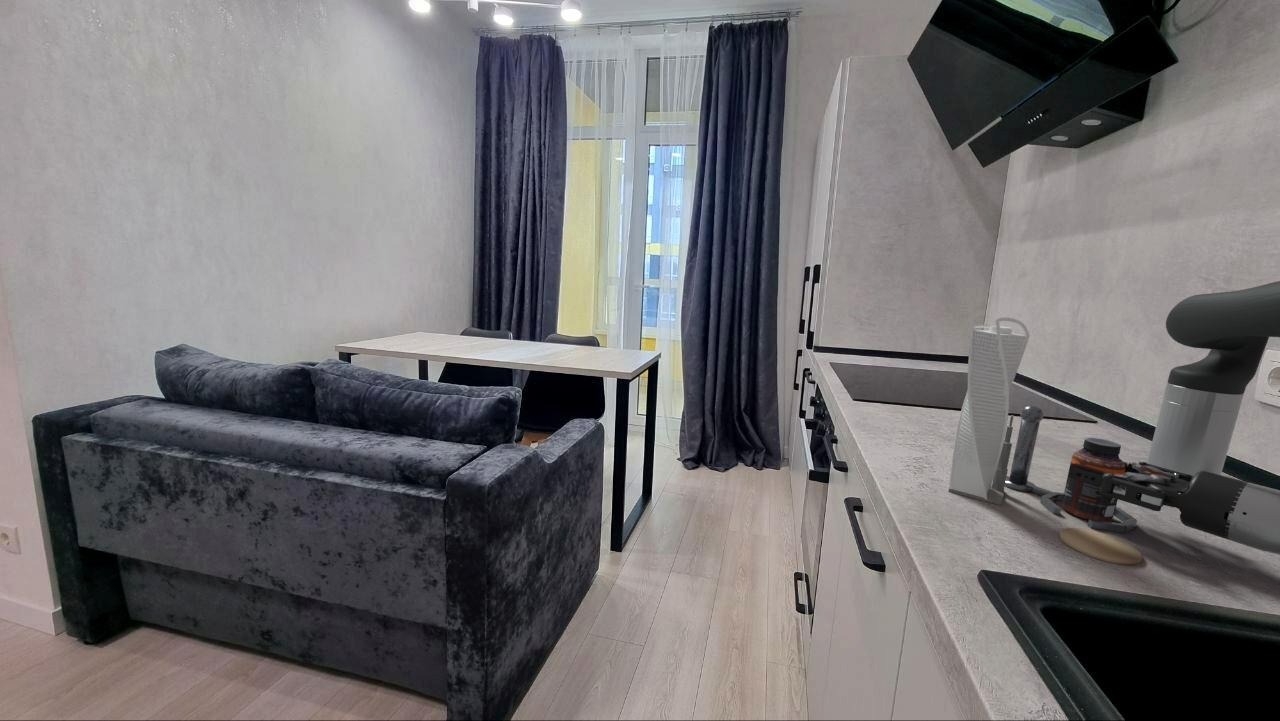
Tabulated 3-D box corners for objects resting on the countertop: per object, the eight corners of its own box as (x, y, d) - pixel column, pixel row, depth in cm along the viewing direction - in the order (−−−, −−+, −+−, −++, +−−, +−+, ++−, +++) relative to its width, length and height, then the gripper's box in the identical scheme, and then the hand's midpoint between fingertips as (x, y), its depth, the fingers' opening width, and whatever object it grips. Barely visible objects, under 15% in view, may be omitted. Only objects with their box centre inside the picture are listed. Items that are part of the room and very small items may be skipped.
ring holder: (1009, 477, 91) (1025, 400, 88) (1143, 522, 76) (1167, 431, 74) (979, 486, 86) (995, 405, 83) (1117, 537, 71) (1141, 440, 68)
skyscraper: (1000, 508, 78) (1039, 321, 73) (939, 491, 82) (971, 314, 77) (1003, 491, 84) (1039, 318, 79) (946, 476, 89) (976, 312, 84)
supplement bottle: (1122, 527, 74) (1141, 451, 72) (1075, 520, 75) (1092, 445, 73) (1095, 508, 80) (1112, 437, 78) (1052, 502, 81) (1067, 432, 79)
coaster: (1074, 527, 73) (1075, 523, 73) (1150, 555, 67) (1151, 551, 66) (1048, 539, 69) (1049, 535, 69) (1127, 571, 62) (1128, 566, 62)
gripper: (1265, 474, 67) (1106, 435, 81) (1236, 494, 60) (1067, 447, 73) (1249, 528, 69) (1095, 481, 82) (1219, 554, 61) (1055, 497, 75)
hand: (1082, 465), depth 78 cm, fingers open, 8 cm apart
